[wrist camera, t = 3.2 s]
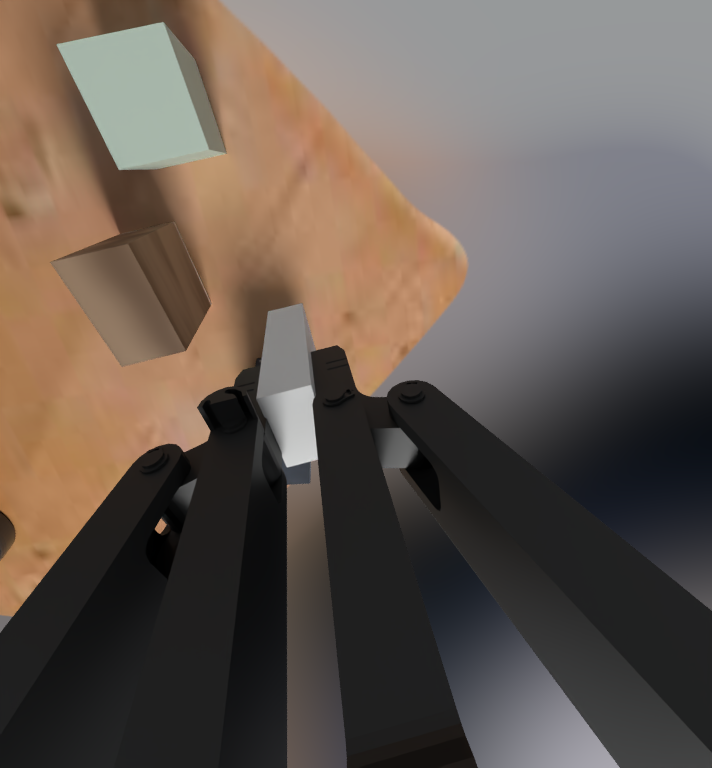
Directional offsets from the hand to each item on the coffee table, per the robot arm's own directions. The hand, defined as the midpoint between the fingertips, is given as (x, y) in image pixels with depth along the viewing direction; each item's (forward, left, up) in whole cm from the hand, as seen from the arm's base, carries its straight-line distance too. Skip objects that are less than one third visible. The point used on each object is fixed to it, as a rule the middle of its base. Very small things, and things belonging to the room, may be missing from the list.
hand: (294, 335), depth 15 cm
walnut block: (-12, 0, -22) cm, 25 cm away
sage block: (-6, +11, -22) cm, 26 cm away
